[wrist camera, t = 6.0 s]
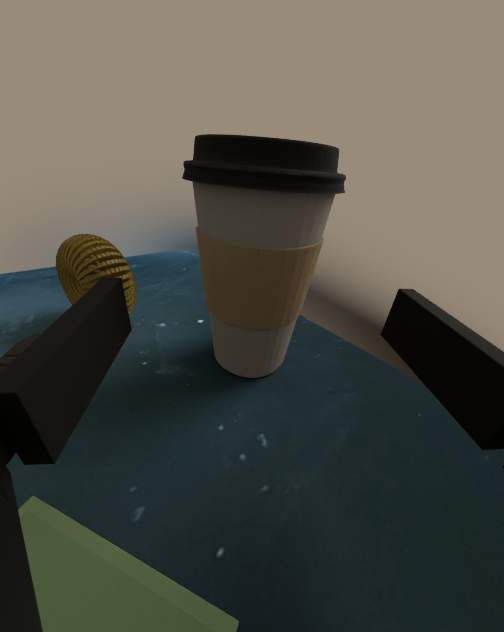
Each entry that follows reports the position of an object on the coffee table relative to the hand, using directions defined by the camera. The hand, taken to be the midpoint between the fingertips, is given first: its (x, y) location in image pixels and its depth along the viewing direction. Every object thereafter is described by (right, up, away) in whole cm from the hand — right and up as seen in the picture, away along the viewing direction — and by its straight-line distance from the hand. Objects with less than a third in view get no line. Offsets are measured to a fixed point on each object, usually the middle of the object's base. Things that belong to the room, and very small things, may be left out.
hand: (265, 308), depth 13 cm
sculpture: (-15, -1, +12) cm, 19 cm away
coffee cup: (-1, -4, +10) cm, 10 cm away
